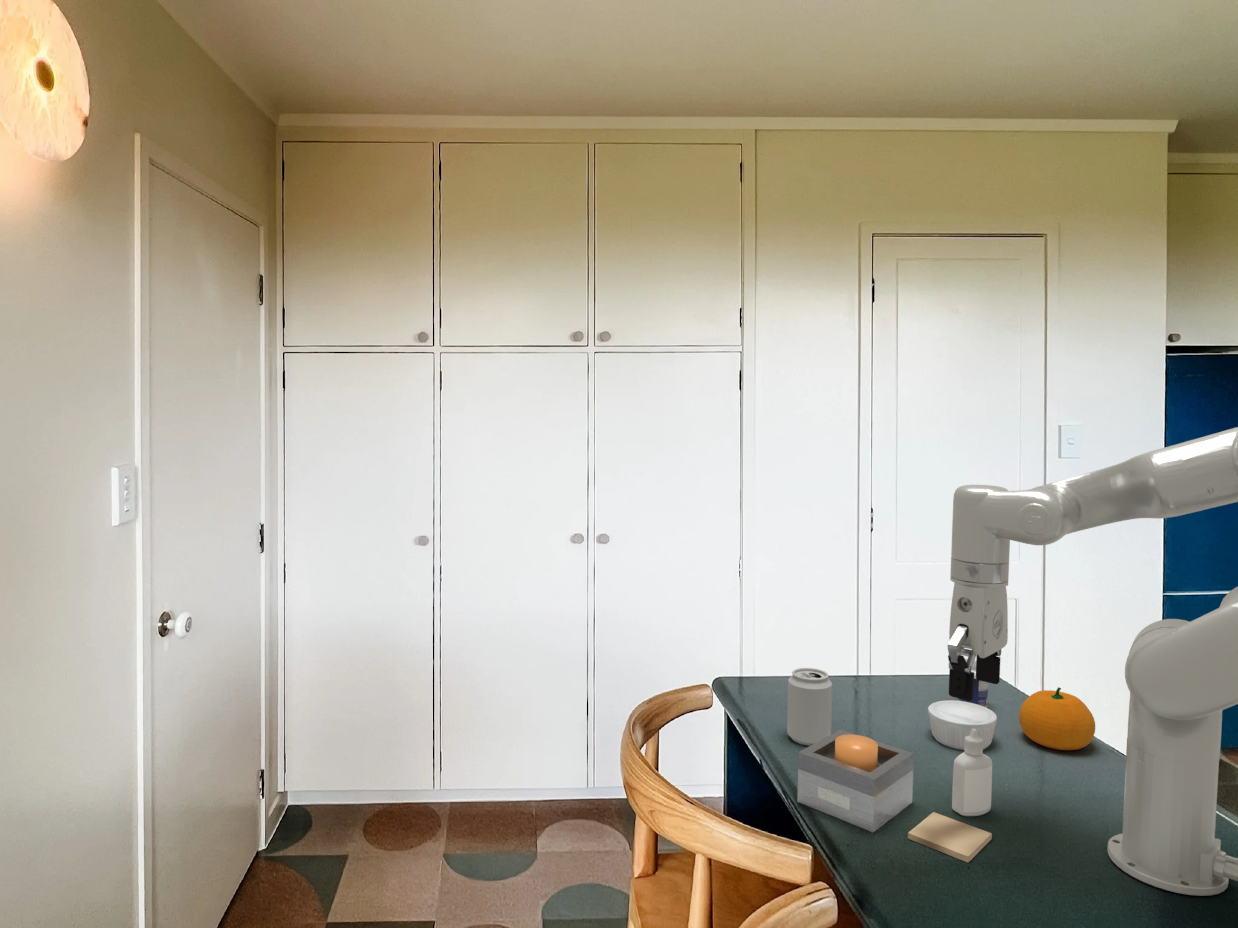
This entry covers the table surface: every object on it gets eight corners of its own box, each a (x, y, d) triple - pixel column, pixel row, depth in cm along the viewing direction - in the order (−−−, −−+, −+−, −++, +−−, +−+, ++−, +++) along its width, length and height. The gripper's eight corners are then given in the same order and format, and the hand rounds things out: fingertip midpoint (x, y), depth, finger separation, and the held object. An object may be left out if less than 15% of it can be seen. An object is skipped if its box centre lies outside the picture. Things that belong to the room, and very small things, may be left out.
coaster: (991, 839, 106) (991, 833, 106) (968, 862, 101) (968, 856, 100) (933, 817, 112) (933, 811, 112) (907, 838, 106) (908, 832, 106)
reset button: (884, 779, 116) (885, 743, 115) (864, 792, 112) (865, 755, 111) (847, 766, 120) (848, 731, 120) (826, 778, 116) (827, 742, 116)
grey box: (912, 802, 116) (913, 753, 116) (872, 833, 107) (873, 780, 107) (838, 775, 125) (840, 729, 124) (796, 802, 116) (797, 752, 115)
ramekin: (931, 750, 135) (932, 720, 134) (922, 725, 145) (923, 697, 145) (1002, 757, 132) (1004, 726, 132) (988, 731, 143) (989, 703, 142)
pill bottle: (951, 703, 156) (952, 655, 155) (969, 699, 158) (971, 651, 158) (974, 713, 151) (976, 663, 151) (993, 708, 154) (995, 659, 153)
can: (839, 744, 137) (841, 676, 136) (803, 750, 134) (804, 681, 133) (813, 728, 144) (815, 663, 143) (778, 733, 141) (780, 668, 140)
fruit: (1103, 743, 138) (1105, 687, 137) (1082, 763, 130) (1085, 704, 129) (1031, 724, 146) (1033, 671, 145) (1007, 742, 138) (1010, 686, 137)
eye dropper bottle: (996, 819, 111) (999, 737, 111) (954, 816, 112) (957, 734, 111) (987, 804, 116) (990, 725, 115) (947, 801, 117) (949, 722, 116)
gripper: (983, 585, 103) (978, 712, 104) (1028, 567, 115) (1023, 682, 116) (927, 576, 108) (922, 697, 109) (975, 560, 120) (971, 669, 122)
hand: (974, 689), depth 113 cm, fingers open, 9 cm apart
